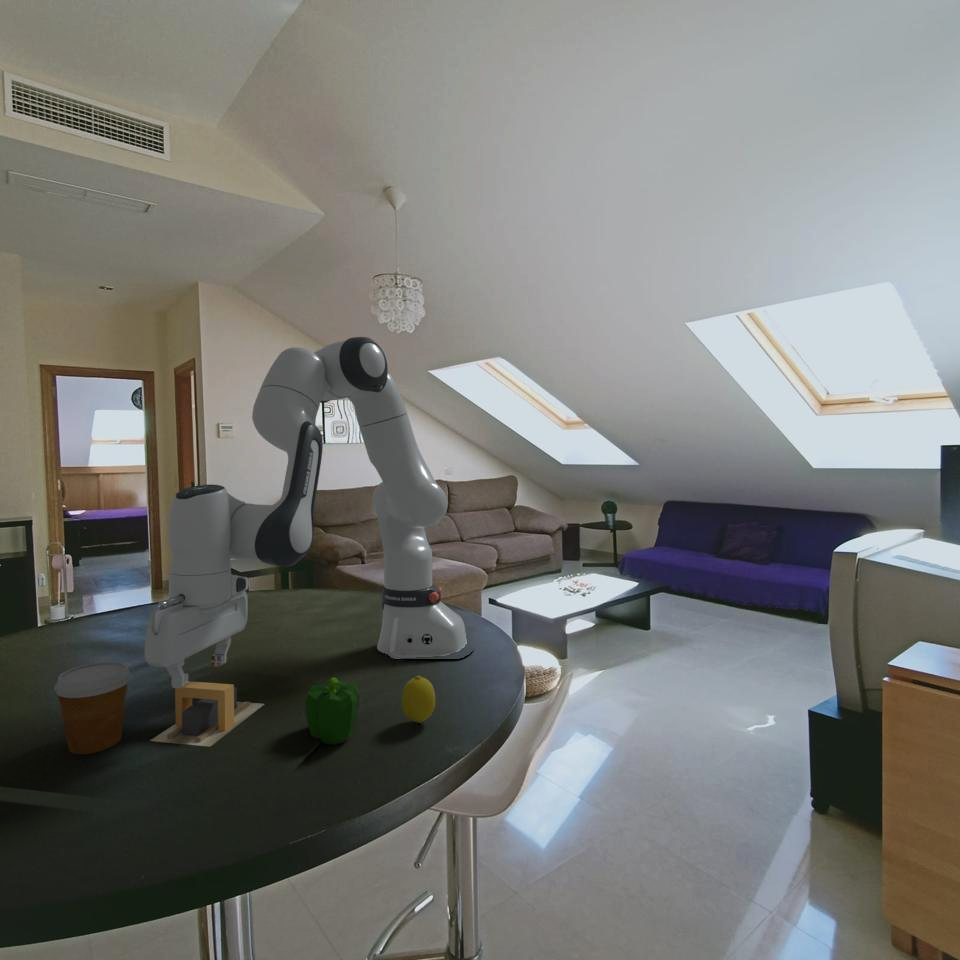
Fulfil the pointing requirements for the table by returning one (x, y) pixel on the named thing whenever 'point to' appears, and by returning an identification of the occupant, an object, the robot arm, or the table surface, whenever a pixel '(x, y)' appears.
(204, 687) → the wooden arch block
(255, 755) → the table surface
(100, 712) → the disposable coffee cup
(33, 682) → the table surface
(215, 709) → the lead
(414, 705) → the lemon
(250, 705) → the board
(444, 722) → the table surface
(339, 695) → the bell pepper
